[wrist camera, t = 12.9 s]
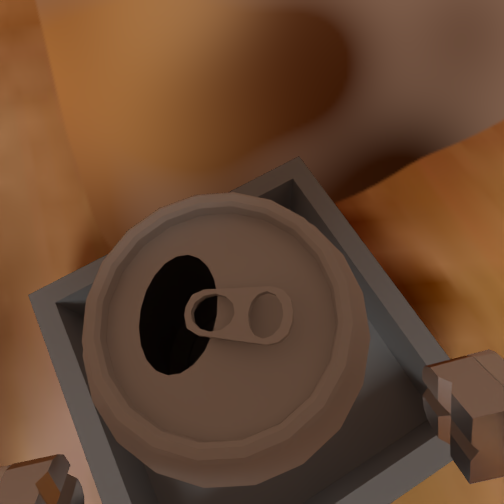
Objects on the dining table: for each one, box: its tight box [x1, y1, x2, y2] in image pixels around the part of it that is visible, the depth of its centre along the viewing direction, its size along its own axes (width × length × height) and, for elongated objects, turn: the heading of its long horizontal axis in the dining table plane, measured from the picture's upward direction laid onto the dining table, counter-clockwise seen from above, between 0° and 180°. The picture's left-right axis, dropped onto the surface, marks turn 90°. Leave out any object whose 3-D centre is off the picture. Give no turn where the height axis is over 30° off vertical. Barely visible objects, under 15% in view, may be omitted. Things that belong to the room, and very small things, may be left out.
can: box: [82, 192, 370, 488], centre depth 14 cm, size 8×8×12 cm
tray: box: [28, 156, 453, 504], centre depth 19 cm, size 15×15×4 cm
